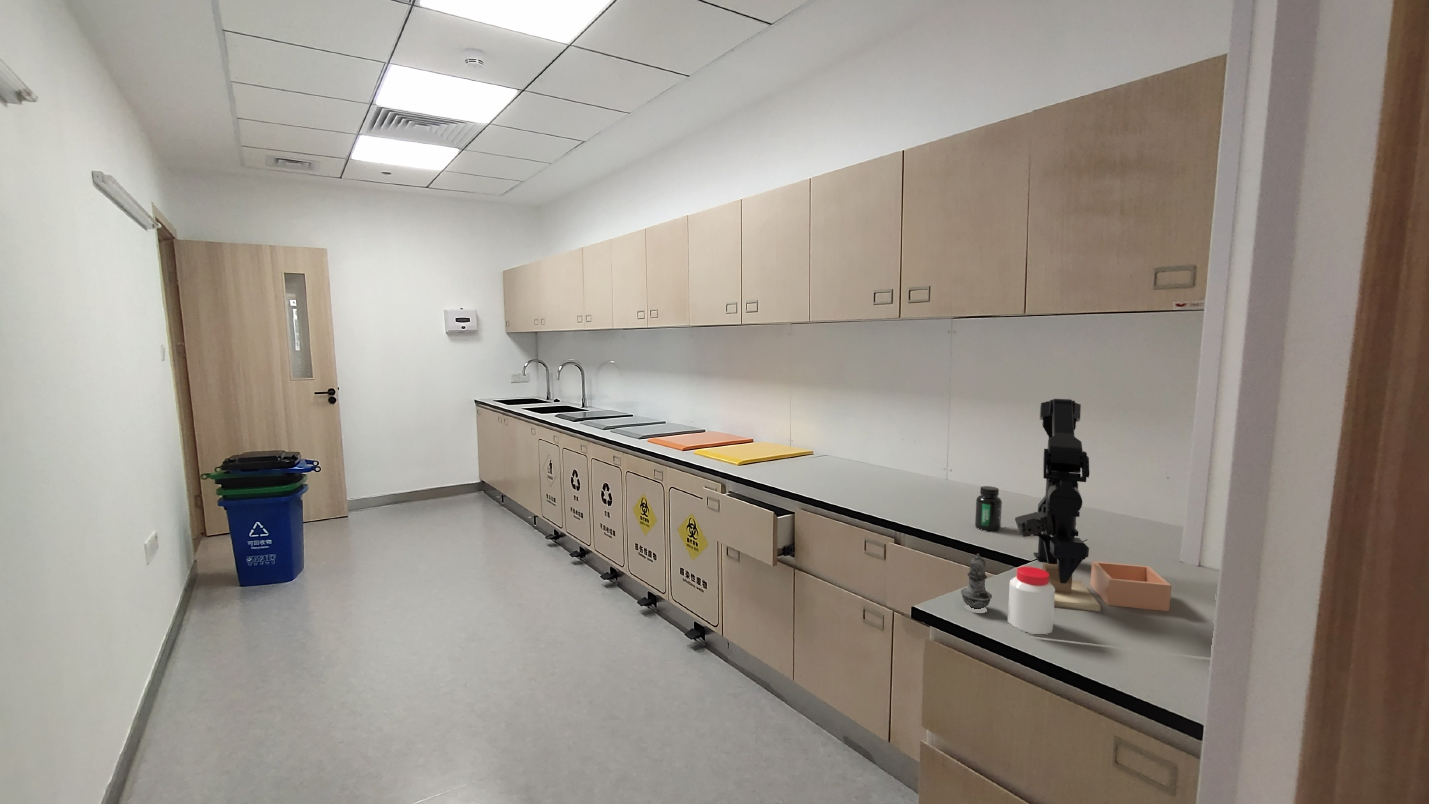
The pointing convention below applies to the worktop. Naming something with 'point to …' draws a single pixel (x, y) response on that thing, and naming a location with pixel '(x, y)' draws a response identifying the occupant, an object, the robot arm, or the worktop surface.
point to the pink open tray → (1130, 586)
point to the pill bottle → (1031, 601)
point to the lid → (1070, 591)
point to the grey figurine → (976, 585)
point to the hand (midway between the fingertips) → (1056, 574)
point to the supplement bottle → (988, 509)
